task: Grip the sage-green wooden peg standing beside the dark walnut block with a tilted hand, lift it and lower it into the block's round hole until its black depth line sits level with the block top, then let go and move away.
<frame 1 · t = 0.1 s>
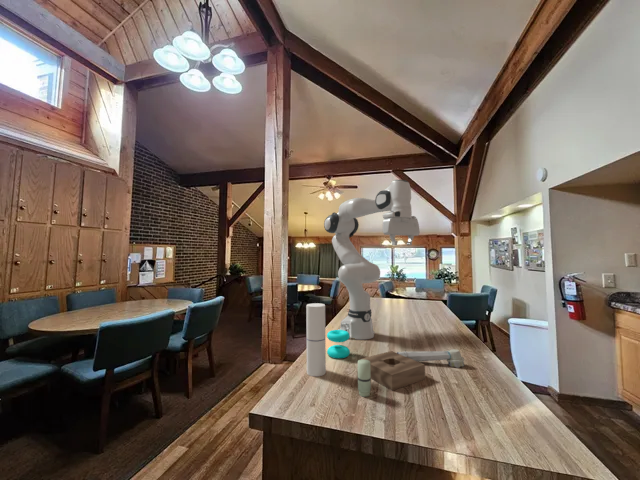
hand: (402, 245, 125), 48 cm above the counter, tool pointing down, fingers open, 8 cm apart
white handheld wand: (429, 364, 111), on the counter
socket block: (391, 375, 100), on the counter
cylindrical container: (316, 372, 104), on the counter
donuts: (338, 355, 121), on the counter
peg: (364, 394, 87), on the counter
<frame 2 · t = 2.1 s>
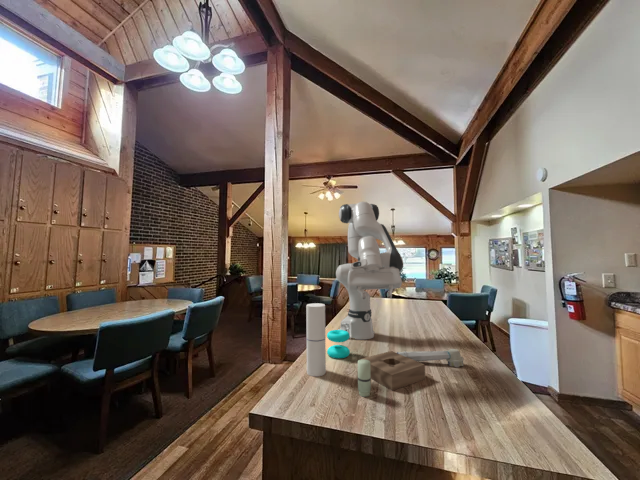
hand: (376, 297, 100), 28 cm above the counter, tool tilted 40°, fingers open, 8 cm apart
nothing on the counter moved.
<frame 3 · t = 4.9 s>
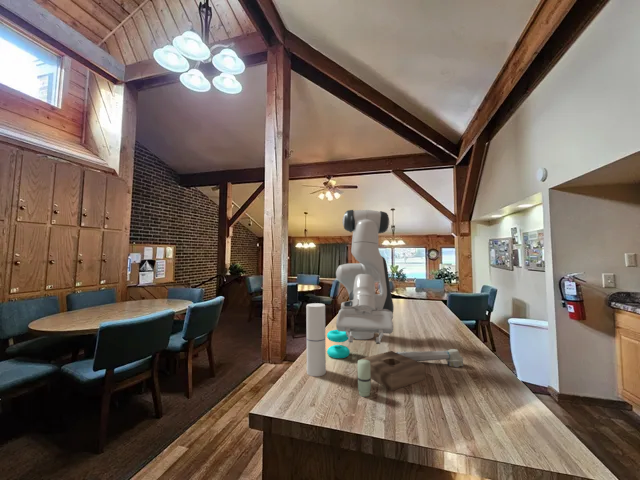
hand: (364, 342, 95), 14 cm above the counter, tool tilted 45°, fingers open, 8 cm apart
nothing on the counter moved.
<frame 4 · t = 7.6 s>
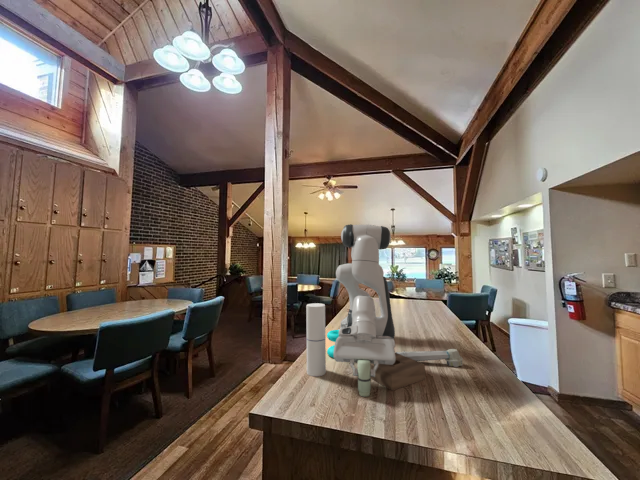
hand: (364, 375, 87), 6 cm above the counter, tool tilted 45°, fingers closed on peg, 4 cm apart
peg: (364, 394, 87), on the counter, touching gripper
everything else where it was.
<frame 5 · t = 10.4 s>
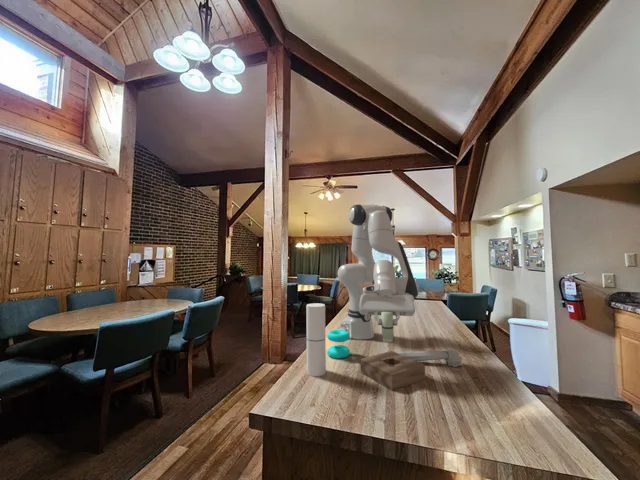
hand: (387, 324, 98), 19 cm above the counter, tool tilted 45°, fingers closed on peg, 4 cm apart
peg: (387, 340, 99), point 13 cm above the counter, touching gripper
everything else where it was.
when the fingers open (8 cm above the counter, at t = 13.3 s): peg drops 2 cm, resting in socket block.
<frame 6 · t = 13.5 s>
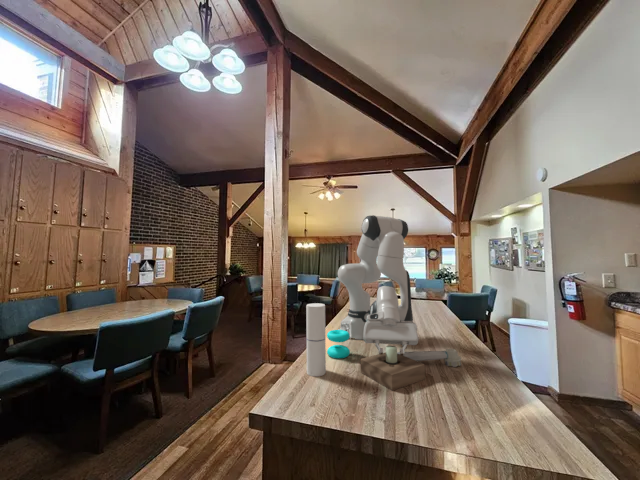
hand: (391, 354, 100), 8 cm above the counter, tool tilted 45°, fingers open, 6 cm apart
peg: (391, 375, 100), resting in socket block
everything else where it was.
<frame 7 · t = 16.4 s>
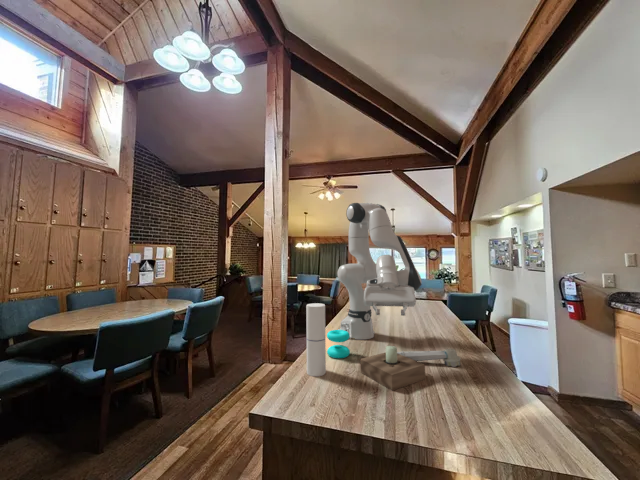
hand: (390, 314, 105), 21 cm above the counter, tool tilted 45°, fingers open, 8 cm apart
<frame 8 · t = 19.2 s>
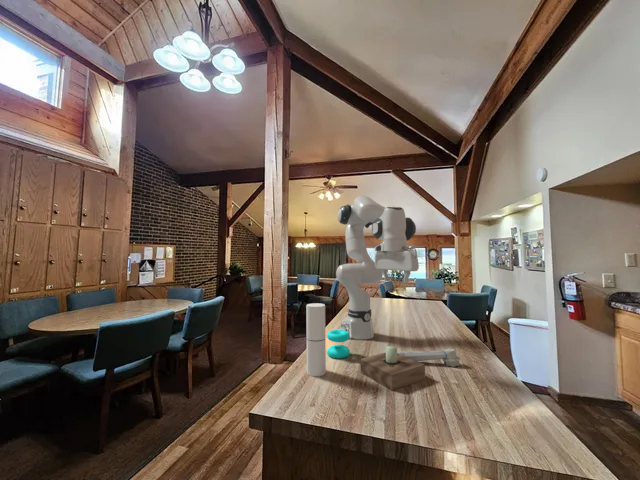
hand: (395, 281, 109), 33 cm above the counter, tool pointing down, fingers open, 8 cm apart
at the end: peg 0.0 cm off-centre on the socket block, point 0.0 cm above the socket block's base; peg tilted 0°; the gripper is holding nothing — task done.
